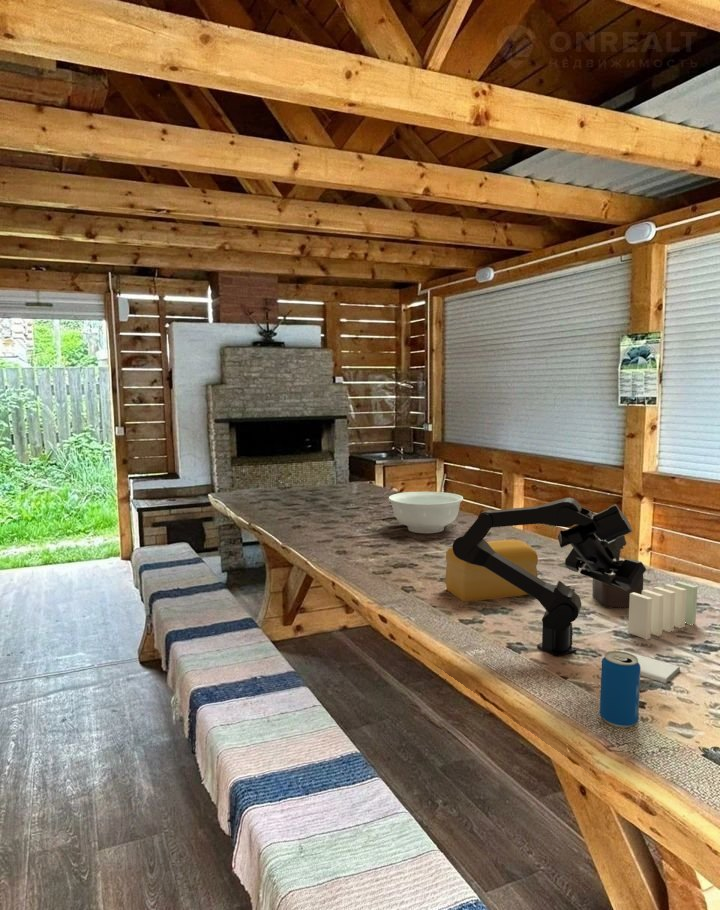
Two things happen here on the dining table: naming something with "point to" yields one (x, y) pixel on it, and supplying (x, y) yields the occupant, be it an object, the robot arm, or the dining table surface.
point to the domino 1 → (640, 615)
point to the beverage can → (620, 689)
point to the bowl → (425, 510)
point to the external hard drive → (656, 668)
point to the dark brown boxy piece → (614, 592)
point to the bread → (488, 573)
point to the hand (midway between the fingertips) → (619, 586)
